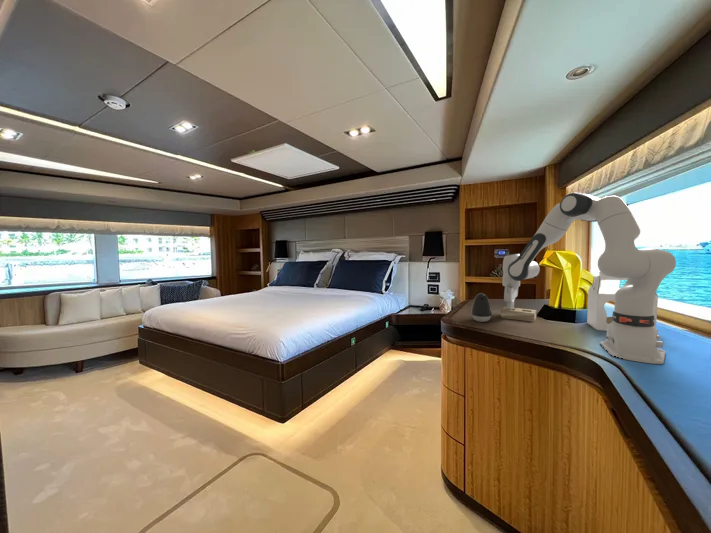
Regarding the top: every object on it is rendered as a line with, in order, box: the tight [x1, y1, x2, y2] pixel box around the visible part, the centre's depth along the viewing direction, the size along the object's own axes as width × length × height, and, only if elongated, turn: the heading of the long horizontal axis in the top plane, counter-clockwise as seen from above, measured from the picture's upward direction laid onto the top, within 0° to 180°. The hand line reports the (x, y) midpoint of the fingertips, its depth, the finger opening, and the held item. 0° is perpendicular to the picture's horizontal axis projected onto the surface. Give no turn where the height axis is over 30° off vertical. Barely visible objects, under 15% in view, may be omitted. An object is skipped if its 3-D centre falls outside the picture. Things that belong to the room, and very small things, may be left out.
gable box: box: [586, 271, 659, 332], centre depth 144 cm, size 22×13×28 cm, turn 68°
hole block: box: [500, 306, 537, 322], centre depth 167 cm, size 9×16×4 cm, turn 53°
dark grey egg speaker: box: [470, 292, 493, 323], centre depth 163 cm, size 10×10×15 cm
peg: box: [508, 300, 515, 310], centre depth 170 cm, size 3×3×10 cm
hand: (510, 307), depth 170 cm, fingers open, 8 cm apart
